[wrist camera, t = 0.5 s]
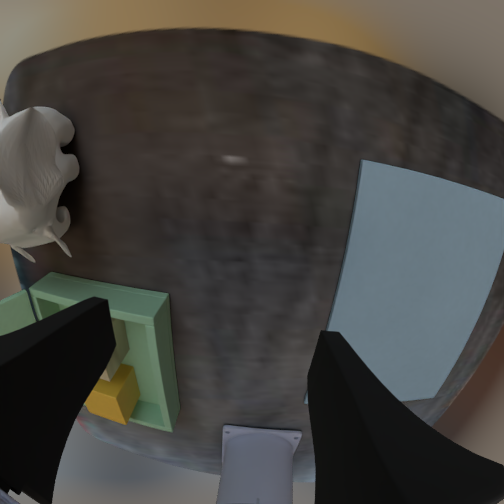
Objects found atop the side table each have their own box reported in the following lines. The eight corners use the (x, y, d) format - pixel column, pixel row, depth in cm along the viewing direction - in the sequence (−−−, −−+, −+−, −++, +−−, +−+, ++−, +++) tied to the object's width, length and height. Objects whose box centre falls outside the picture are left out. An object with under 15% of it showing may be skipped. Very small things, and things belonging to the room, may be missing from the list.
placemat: (432, 394, 22) (433, 397, 22) (303, 399, 23) (304, 404, 22) (511, 201, 15) (515, 203, 14) (360, 159, 15) (362, 159, 15)
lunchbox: (169, 293, 20) (153, 318, 17) (180, 408, 25) (172, 432, 22) (51, 271, 20) (28, 288, 17) (84, 380, 25) (71, 400, 22)
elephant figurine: (36, 254, 20) (-34, 302, 11) (10, 121, 15) (-70, 133, 7) (119, 240, 18) (36, 305, 10) (91, 75, 14) (-6, 57, 6)
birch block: (130, 349, 21) (110, 382, 17) (91, 339, 21) (68, 367, 18) (122, 309, 20) (97, 341, 16) (81, 300, 20) (54, 327, 16)
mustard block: (140, 394, 23) (126, 425, 20) (105, 384, 24) (89, 412, 20) (133, 366, 22) (116, 398, 18) (95, 355, 22) (75, 384, 18)
